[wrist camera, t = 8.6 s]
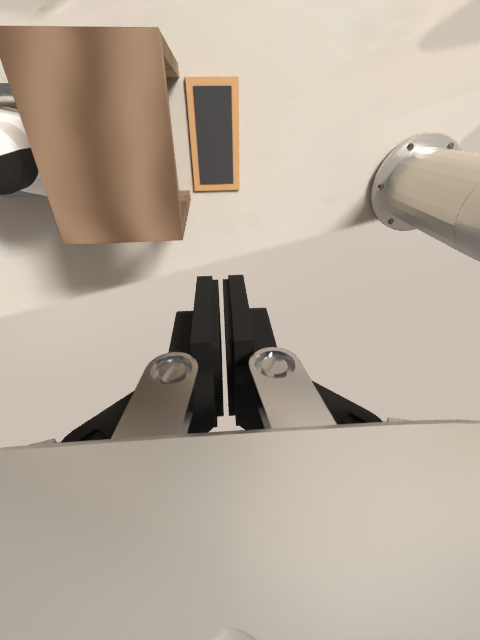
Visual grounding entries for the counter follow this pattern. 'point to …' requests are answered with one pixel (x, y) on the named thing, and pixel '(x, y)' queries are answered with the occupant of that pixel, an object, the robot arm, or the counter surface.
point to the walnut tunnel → (99, 128)
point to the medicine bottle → (17, 157)
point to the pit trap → (214, 131)
